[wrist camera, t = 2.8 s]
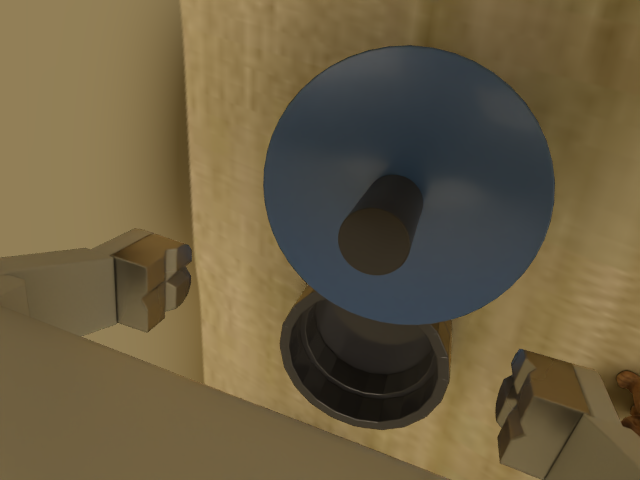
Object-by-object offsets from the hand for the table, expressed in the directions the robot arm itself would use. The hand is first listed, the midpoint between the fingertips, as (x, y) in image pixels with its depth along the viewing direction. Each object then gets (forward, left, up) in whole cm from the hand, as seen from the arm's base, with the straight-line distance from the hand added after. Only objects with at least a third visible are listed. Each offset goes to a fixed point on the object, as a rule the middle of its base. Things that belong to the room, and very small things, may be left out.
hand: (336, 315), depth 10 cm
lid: (0, 0, -9) cm, 9 cm away
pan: (+12, 0, -18) cm, 22 cm away
